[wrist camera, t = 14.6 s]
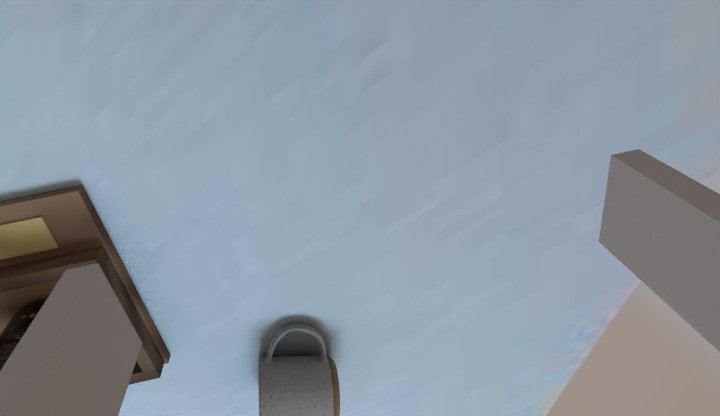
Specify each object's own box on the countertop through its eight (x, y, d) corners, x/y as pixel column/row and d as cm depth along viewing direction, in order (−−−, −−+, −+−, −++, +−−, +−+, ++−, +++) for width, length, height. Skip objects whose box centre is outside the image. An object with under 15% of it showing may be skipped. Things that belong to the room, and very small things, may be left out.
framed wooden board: (-111, 223, 36) (-141, 244, 34) (82, 185, 37) (68, 202, 35) (21, 388, 46) (6, 414, 44) (170, 355, 47) (164, 378, 45)
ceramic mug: (331, 386, 54) (339, 447, 47) (259, 392, 52) (257, 456, 46) (335, 316, 49) (344, 372, 42) (255, 320, 47) (252, 380, 41)
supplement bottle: (-3, 327, 41) (-95, 454, 31) (44, 283, 40) (-36, 399, 30) (68, 362, 45) (6, 488, 34) (114, 322, 43) (63, 440, 33)
